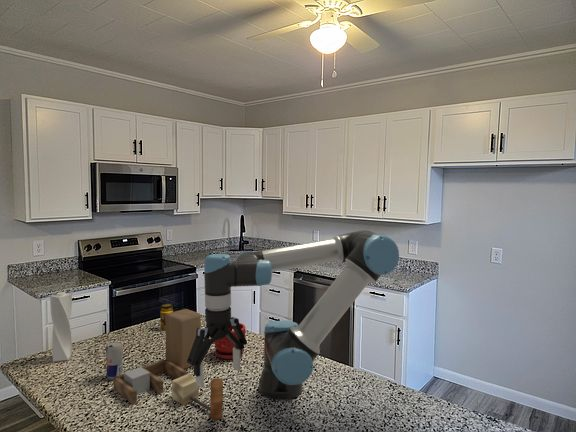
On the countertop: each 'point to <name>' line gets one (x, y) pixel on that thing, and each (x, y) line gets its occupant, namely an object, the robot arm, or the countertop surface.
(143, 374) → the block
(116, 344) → the energy drink
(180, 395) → the corded block
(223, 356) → the plant pot
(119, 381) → the lane rack
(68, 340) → the skyscraper
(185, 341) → the wooden block
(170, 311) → the condiment
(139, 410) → the countertop surface
